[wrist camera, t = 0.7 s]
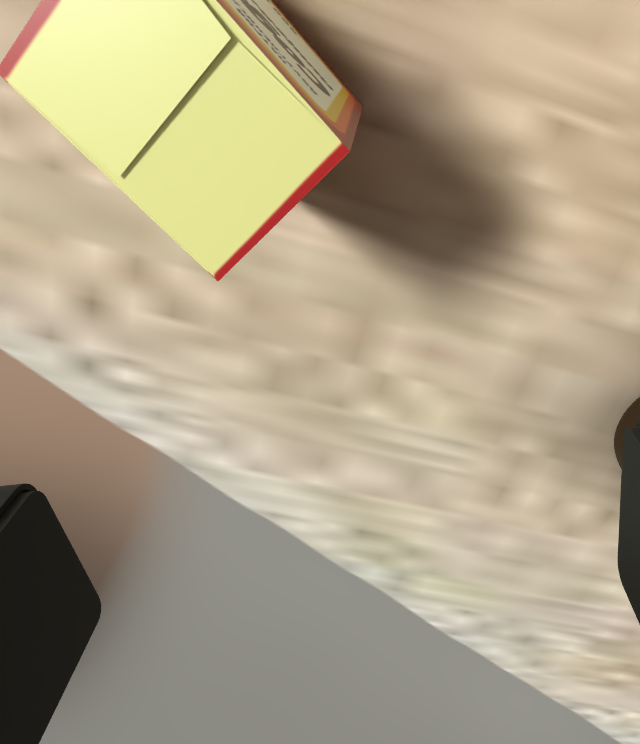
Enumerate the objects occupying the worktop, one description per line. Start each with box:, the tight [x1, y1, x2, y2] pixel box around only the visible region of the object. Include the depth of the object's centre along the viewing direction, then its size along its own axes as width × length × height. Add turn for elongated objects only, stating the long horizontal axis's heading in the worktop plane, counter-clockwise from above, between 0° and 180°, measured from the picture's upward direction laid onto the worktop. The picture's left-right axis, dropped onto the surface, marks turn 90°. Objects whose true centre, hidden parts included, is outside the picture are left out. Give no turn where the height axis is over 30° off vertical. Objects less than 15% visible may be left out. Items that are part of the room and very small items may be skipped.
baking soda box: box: [0, 0, 363, 281], centre depth 26 cm, size 10×6×16 cm
